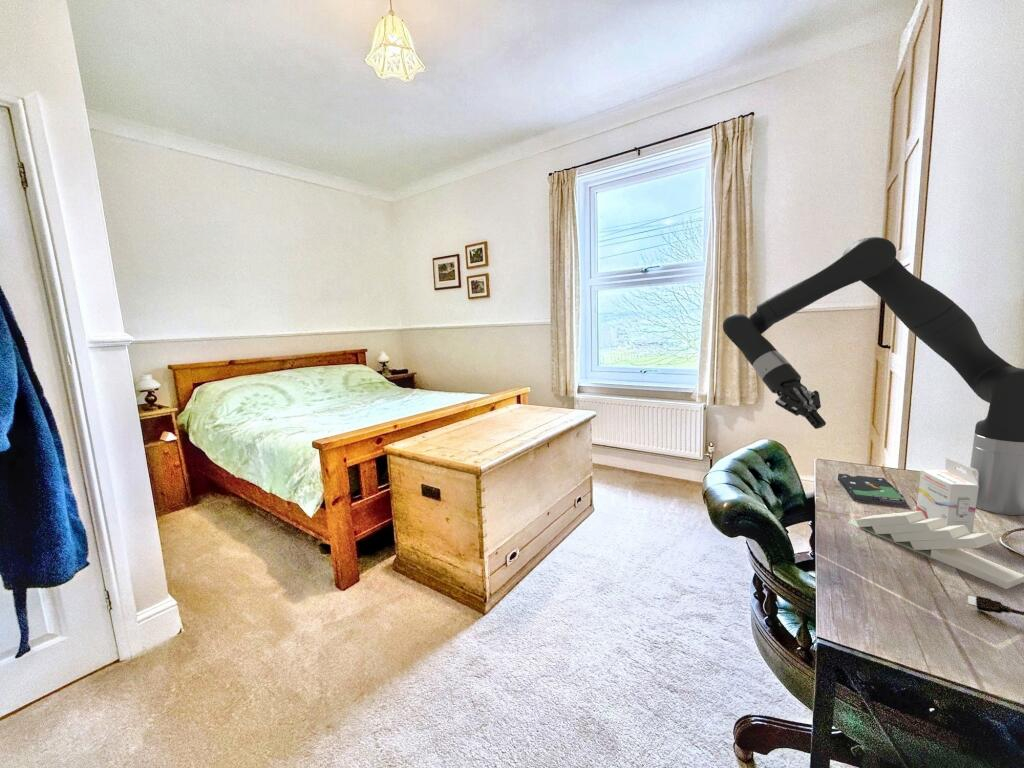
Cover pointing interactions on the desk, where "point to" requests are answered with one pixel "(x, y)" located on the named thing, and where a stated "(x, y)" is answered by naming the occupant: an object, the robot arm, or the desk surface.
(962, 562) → the domino
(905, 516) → the domino
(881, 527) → the domino
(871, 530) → the felt strip
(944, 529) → the domino
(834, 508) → the desk surface
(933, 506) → the ink cartridge box
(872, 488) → the disk drive
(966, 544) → the domino
